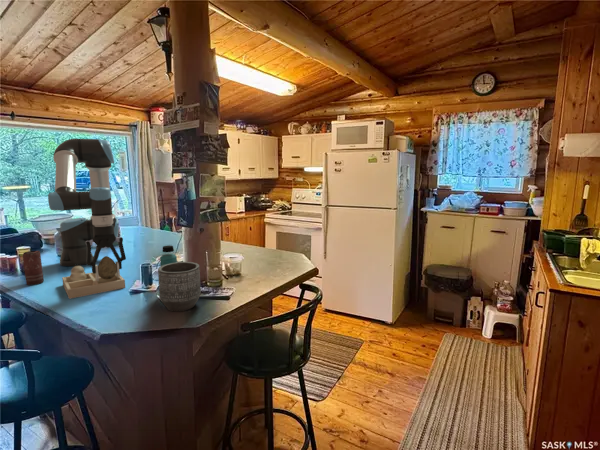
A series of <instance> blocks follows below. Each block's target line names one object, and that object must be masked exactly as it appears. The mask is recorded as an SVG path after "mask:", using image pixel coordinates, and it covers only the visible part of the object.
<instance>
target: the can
mask: <svg viewBox="0 0 600 450" xmlns="http://www.w3.org/2000/svg"><path fill="white" fill-rule="evenodd" d="M22 260H23V269H24V275H25V276H24V277H25V283H26V285H28V286H37V285H41V284H43V283H44V274H43V273H44V271H43V264H42V263H43V262H42V255H41V251H40V250H30V251H24V252H23V253H22Z"/></svg>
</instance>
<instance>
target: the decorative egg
mask: <svg viewBox="0 0 600 450" xmlns="http://www.w3.org/2000/svg"><path fill="white" fill-rule="evenodd" d="M115 262H116V261H114V259H113V258H111V257H110V256H108V255H106V256H105V255H104V256H103V257H102V258H101V259H100V260H99V263H97V266H98V274H99V276H100V277H101V278H103V279H111V278H113V277H114V276H115V274H116V272H117V266H116V263H115Z"/></svg>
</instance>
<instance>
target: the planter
mask: <svg viewBox="0 0 600 450" xmlns="http://www.w3.org/2000/svg"><path fill="white" fill-rule="evenodd" d="M157 271H158V273H157V274H158V276H157V277H158V288H159V289H158V292H159V300H160V302H161V303H162V305H164V306H165V308H166V309H167V310H168V311H171V312H183V311H188V310H191V309H192V308H194V307H195V306H196V304H197V302H198V301H199V298H200V297H201V293H202V292H201V270H200V264H198V263H197V262H192V261H177V262H175V263H170V264H166V265H163V266H161V265H160V267H158V268H157Z"/></svg>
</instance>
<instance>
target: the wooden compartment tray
mask: <svg viewBox="0 0 600 450" xmlns="http://www.w3.org/2000/svg"><path fill="white" fill-rule="evenodd" d="M85 273H86V272H85ZM86 276H87V277H86V280H80V281H74V282H71V280H70V275H68V276H62V286H63V288H64V291H65V293H66V294H67V297H68V299H69V300H70V299H75V298H81V297H85V296H90V295H95V294H100V293H105V292H110V291H115V290H120V289H125V288H126V279H125V278H123V276H122V275H120V277H119V278H118V277H117V275H116V274H115V276H114V277H113V278H111V279H103V278H101V277H100V276H99V281H96V276H95V273H94V274H93V272H92V271H91V272H87V273H86Z"/></svg>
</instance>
